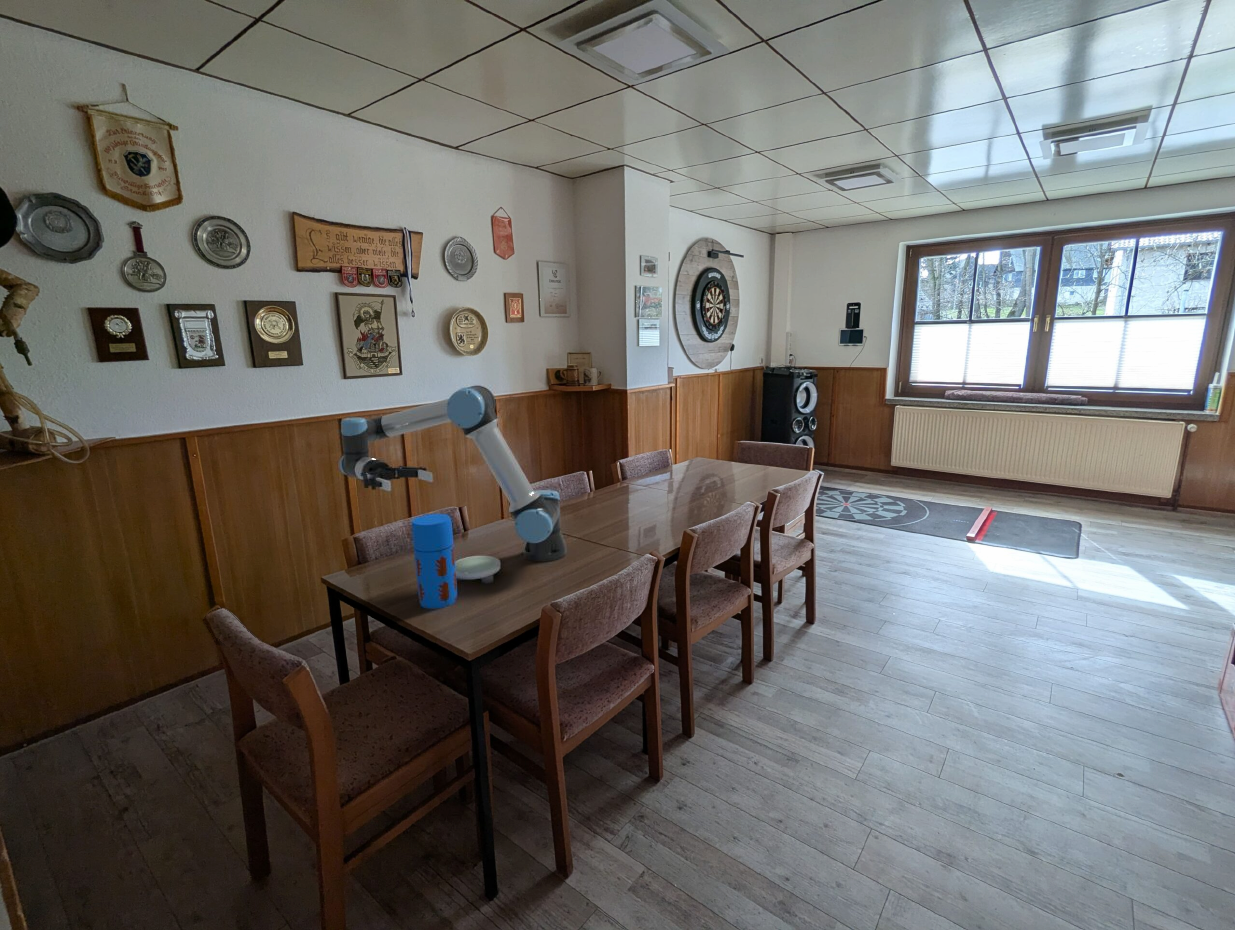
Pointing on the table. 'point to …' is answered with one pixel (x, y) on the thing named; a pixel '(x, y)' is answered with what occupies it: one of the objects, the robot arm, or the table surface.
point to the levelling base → (477, 568)
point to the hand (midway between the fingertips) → (411, 481)
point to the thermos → (434, 560)
